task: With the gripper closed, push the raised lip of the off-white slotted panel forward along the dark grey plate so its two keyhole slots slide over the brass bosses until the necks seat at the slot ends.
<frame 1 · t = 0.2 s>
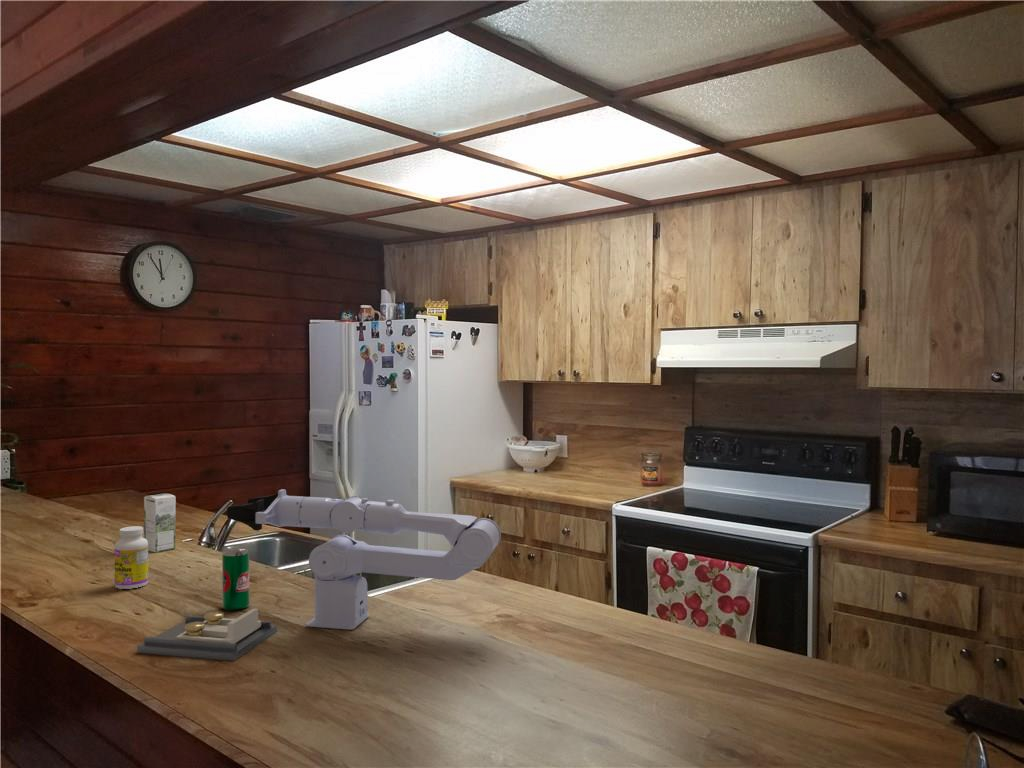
hand: (238, 508, 143), 21 cm above the countertop, tool horizontal, fingers open, 7 cm apart
panel: (219, 624, 130), point 3 cm above the countertop, slide at 0.0 cm
boss plate: (209, 641, 130), on the countertop
syrup box: (160, 550, 198), on the countertop
soda can: (236, 608, 149), on the countertop
supplement bottle: (131, 587, 164), on the countertop
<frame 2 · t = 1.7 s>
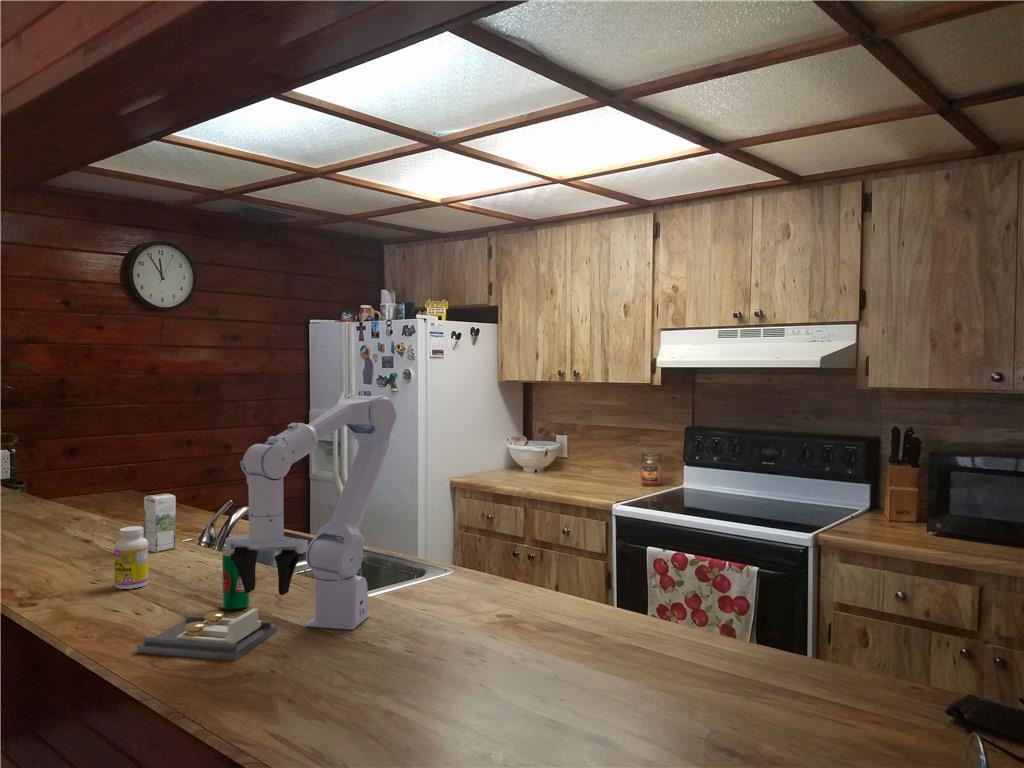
hand: (266, 592, 128), 9 cm above the countertop, tool pointing down, fingers open, 6 cm apart
nothing on the countertop moved.
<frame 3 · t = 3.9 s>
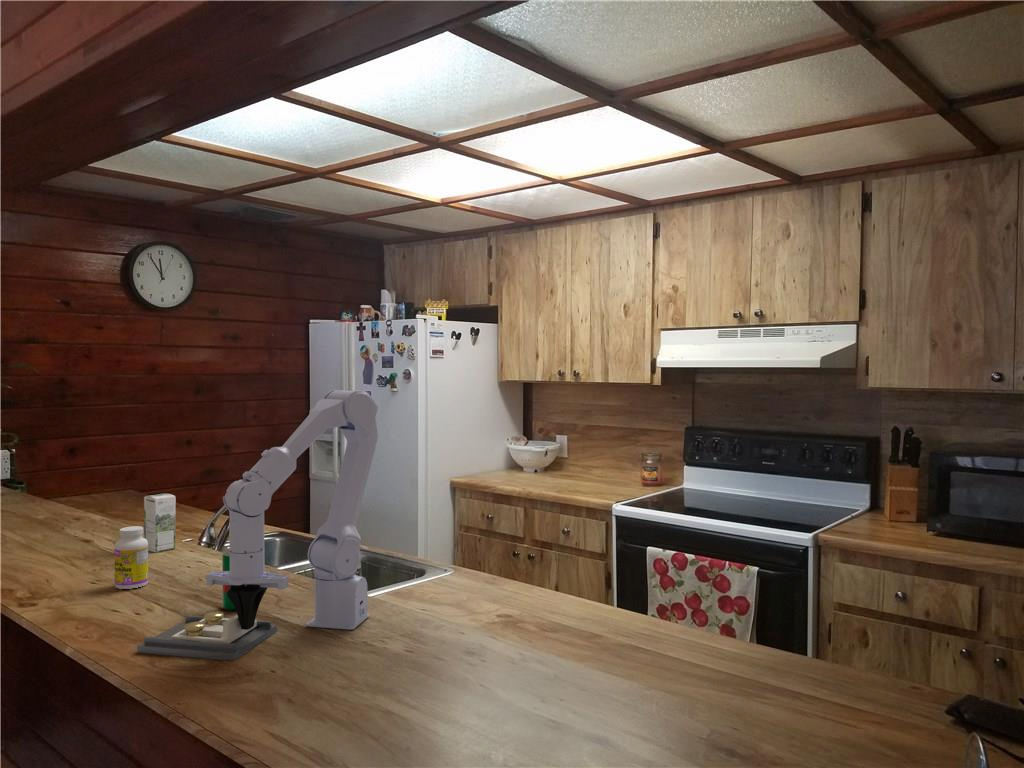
hand: (247, 627, 129), 3 cm above the countertop, tool pointing down, fingers closed
panel: (215, 623, 130), point 3 cm above the countertop, slide at 0.9 cm, touching gripper
everything else where it was.
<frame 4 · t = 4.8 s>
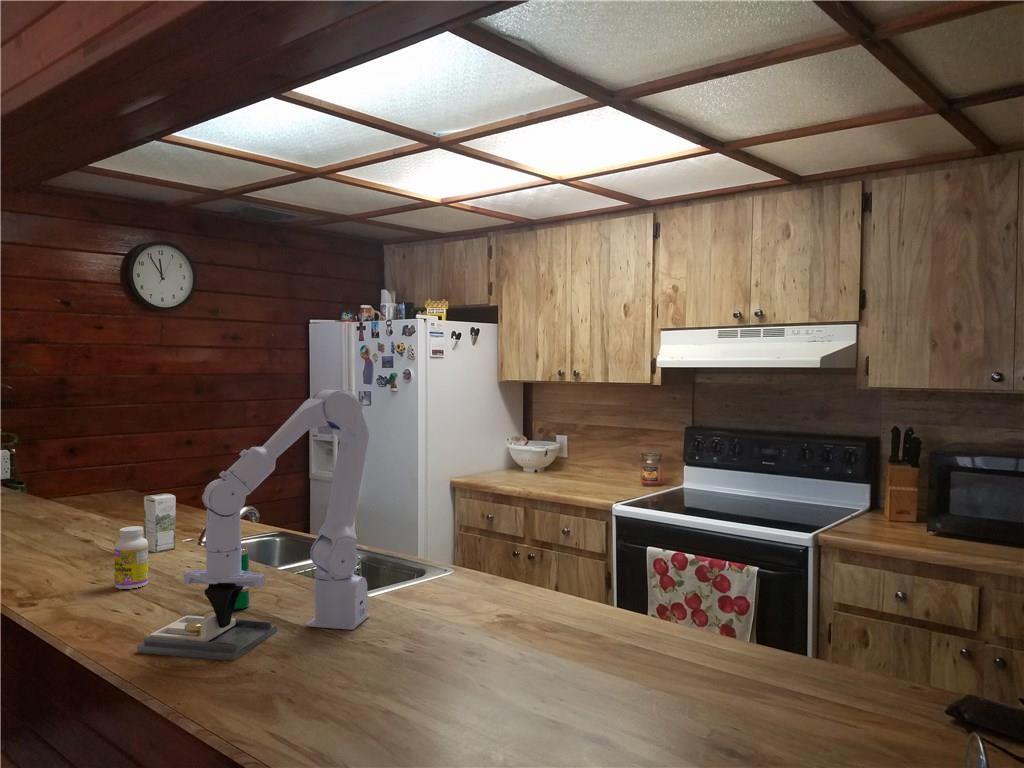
hand: (224, 626, 130), 3 cm above the countertop, tool pointing down, fingers closed
panel: (194, 622, 131), point 3 cm above the countertop, slide at 5.1 cm, touching gripper
everything else where it was.
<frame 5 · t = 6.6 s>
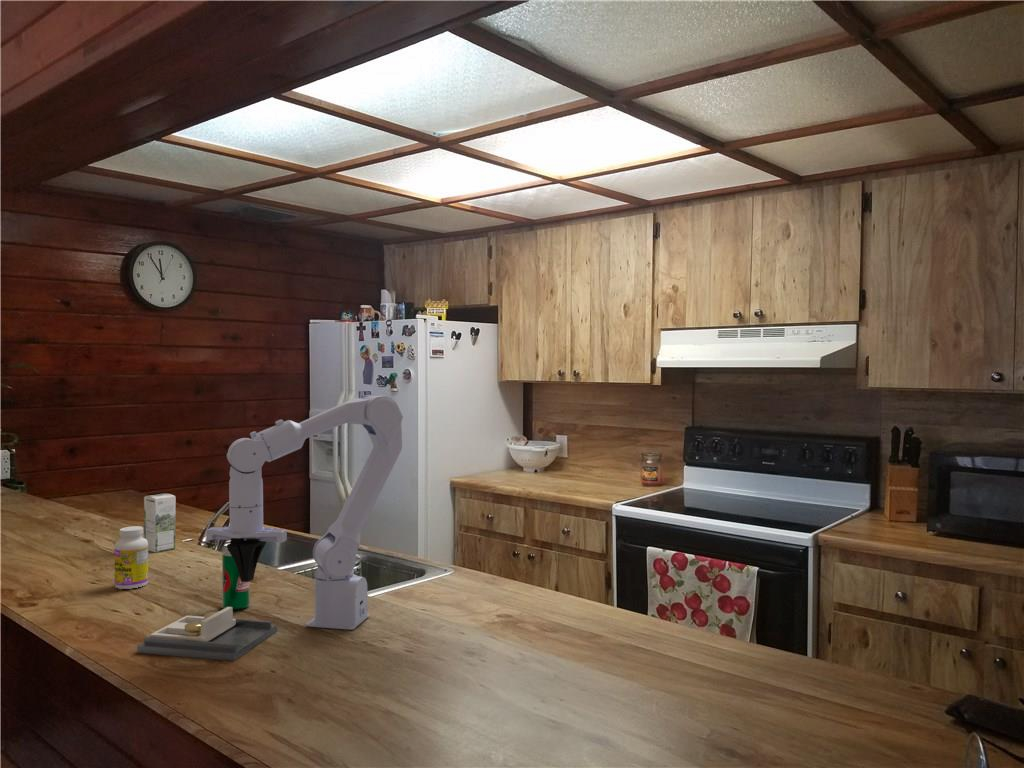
hand: (247, 580, 134), 10 cm above the countertop, tool pointing down, fingers closed
panel: (194, 622, 131), point 3 cm above the countertop, slide at 5.0 cm
everything else where it was.
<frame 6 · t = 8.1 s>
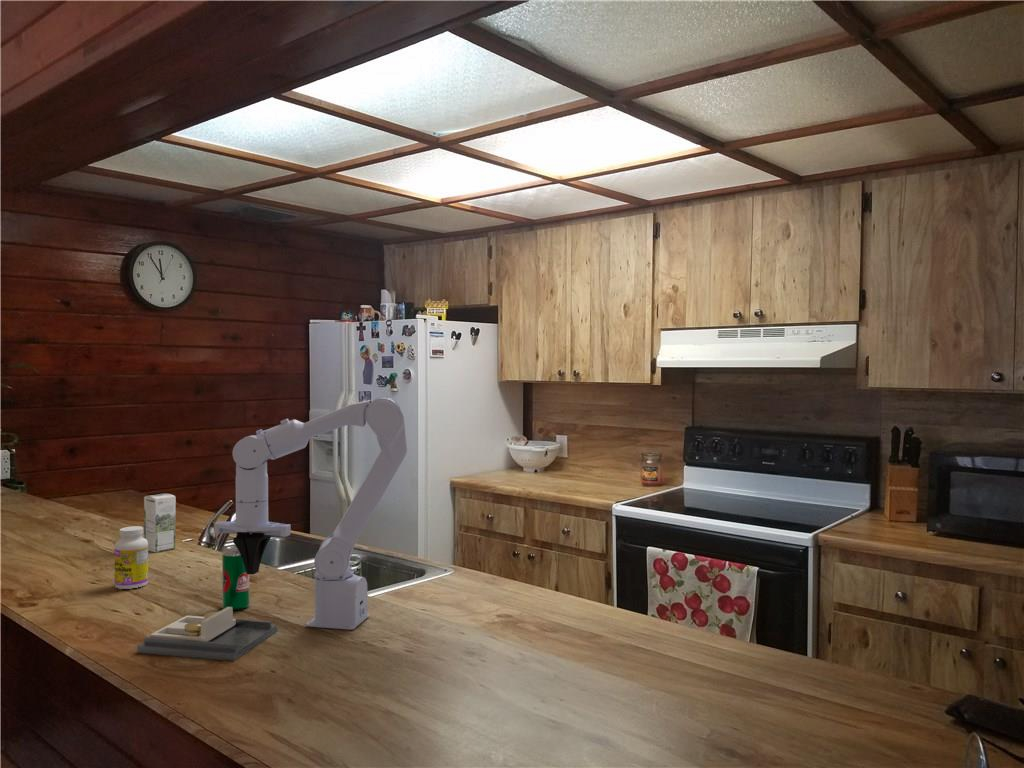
hand: (252, 572, 138), 10 cm above the countertop, tool pointing down, fingers closed
nothing on the countertop moved.
at the end: panel slide at 5.0 cm; panel touching nothing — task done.
